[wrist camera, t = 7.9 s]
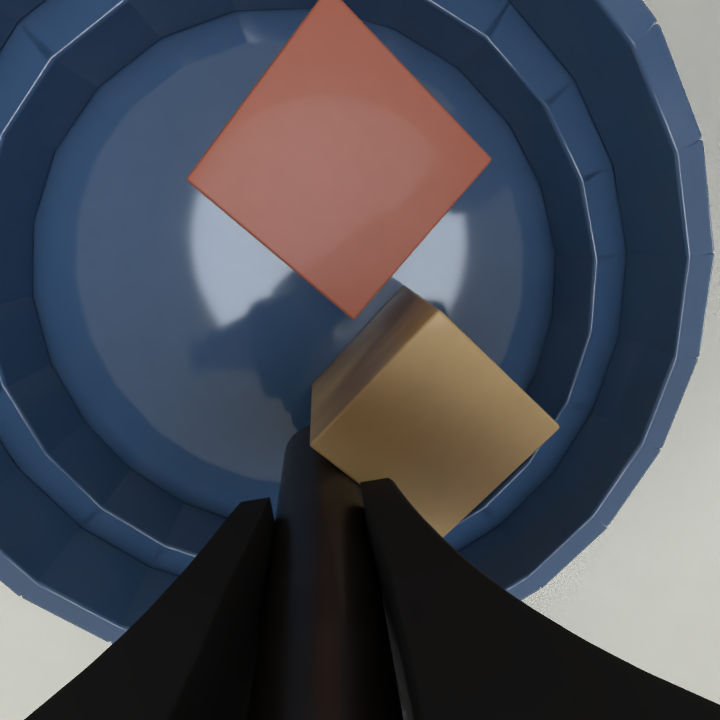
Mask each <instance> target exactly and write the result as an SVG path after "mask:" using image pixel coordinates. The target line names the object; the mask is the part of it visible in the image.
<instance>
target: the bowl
mask: <svg viewBox="0 0 720 720" xmlns="http://www.w3.org/2000/svg"><path fill="white" fill-rule="evenodd" d="M317 1H318V0H0V581H1V582H2V583H4V584H5V585H6V586H7V587H8V588H10V589H11V590H12V591H13V592H14V593H16V594H17V595H18V596H22V598H23V599H25V600H27V601H29V602H31V603H33V604H35V605H37V606H39V607H41V608H43V609H45V610H47V611H49V612H50V613H52V614H54V615H56V616H58V617H60V618H62V619H64V620H66V621H68V622H70V623H72V624H74V625H76V626H78V627H79V628H81V629H83V630H85V631H87V632H89V633H91V634H93V635H95V636H97V637H99V638H101V639H103V640H105V641H107V642H110V641H111V643H112V644H113V643H114V642H115V641H116V640H117V639H119V638H120V637H121V636H122V635H123V634H124V633H125V632H126V631H127V630H128V629H129V628H130V627H131V626H132V625H133V624H134V623H135V622H136V621H137V620H138V619H139V618H140V617H141V616H142V615H143V614H144V613H145V612H146V611H147V610H148V609H149V608H150V607H151V606H152V605H153V604H154V603H155V601H156V600H157V599H158V598H159V597H160V596H161V595H162V594H163V593H164V592H165V591H166V589H167V588H168V587H169V586H170V585H171V584H172V583H173V582H174V581H175V580H176V579H177V577H178V576H179V575H180V574H181V573H182V572H183V571H184V570H185V569H186V568H187V566H188V565H189V564H190V563H191V562H192V561H193V559H194V558H195V557H196V556H197V555H198V553H199V552H200V551H201V550H202V549H203V547H204V546H205V545H206V544H207V543H208V541H209V540H210V539H211V538H212V536H213V535H214V534H215V533H216V531H217V530H218V529H219V528H220V526H221V525H222V524H223V523H224V521H225V520H226V519H227V518H228V516H229V515H230V514H231V513H232V512H233V510H234V509H235V508H236V507H237V505H238V504H239V503H240V502H243V501H249V500H255V499H261V498H267V497H270V501H271V506H272V510H273V515H274V520H275V518H276V511H277V503H278V496H279V489H280V482H281V475H282V468H283V461H284V454H285V449H286V446H287V444H288V442H289V440H290V439H291V437H292V436H293V435H294V434H295V433H296V432H298V431H299V430H301V429H302V428H304V427H306V426H309V425H310V423H311V396H312V384H313V383H314V382H315V380H316V379H317V378H318V377H319V376H320V375H321V374H322V373H323V372H324V371H325V370H326V369H327V368H328V367H329V365H330V364H331V363H332V362H333V361H334V360H335V359H336V358H337V357H338V356H339V355H340V354H341V353H342V351H343V350H344V349H345V348H346V347H347V346H348V345H349V344H350V343H351V342H352V341H353V340H354V339H355V337H356V336H357V335H358V334H359V333H360V332H361V331H362V330H363V329H364V328H365V327H366V326H367V325H368V324H369V322H370V321H371V320H372V319H373V318H374V317H375V316H376V315H377V314H378V313H379V312H380V311H381V310H382V308H383V307H384V306H385V305H386V304H387V303H388V302H389V301H390V300H391V299H392V298H393V297H394V296H395V295H396V293H397V292H398V291H399V290H400V289H401V288H402V287H404V286H406V287H407V288H409V289H410V290H412V291H413V292H415V293H416V294H418V295H419V296H420V297H422V298H423V299H425V300H426V301H428V302H429V303H430V304H432V305H433V306H435V307H436V308H438V309H439V310H441V311H442V312H443V313H444V314H445V315H446V316H447V317H448V318H449V319H450V320H451V321H452V322H453V323H454V324H455V325H456V326H457V327H458V328H459V329H460V330H461V331H462V332H463V333H465V334H466V335H467V336H468V337H469V338H470V339H471V340H472V341H473V342H474V343H475V344H476V345H477V346H478V347H479V348H480V349H481V350H482V351H483V352H484V353H485V354H486V355H487V356H488V357H489V358H490V359H491V360H492V361H493V362H495V363H496V364H497V365H498V366H499V367H500V368H501V369H502V370H503V371H504V372H505V373H506V374H507V375H508V376H509V377H510V378H511V379H512V380H513V381H514V382H515V383H516V384H517V385H518V386H519V387H520V388H521V389H522V390H524V391H525V392H526V393H527V394H528V395H529V396H530V397H531V398H532V399H533V400H534V401H535V402H536V403H537V404H538V405H539V406H540V407H541V408H542V409H543V410H544V411H545V412H546V413H547V414H548V415H549V416H550V417H551V418H552V419H554V420H555V421H556V422H557V423H558V425H559V429H558V430H557V431H556V432H555V433H554V434H553V435H552V436H551V437H550V438H549V439H548V440H546V441H545V442H544V443H543V444H542V445H541V446H540V447H539V448H538V449H537V450H536V451H535V452H534V453H533V454H532V455H530V456H529V457H528V458H527V459H526V460H525V461H524V462H523V463H522V464H521V465H520V466H519V467H518V468H517V469H516V470H515V471H513V472H512V473H511V474H510V475H509V476H508V477H507V478H506V479H505V480H504V481H503V482H502V483H501V484H500V485H499V486H498V487H496V488H495V489H494V490H493V491H492V492H491V493H490V494H489V495H488V496H487V497H486V498H485V499H484V500H483V501H482V502H480V503H479V504H478V505H477V506H476V507H475V508H474V509H473V510H472V511H471V512H470V513H469V514H468V515H467V516H466V517H465V518H463V519H462V520H461V521H460V522H459V523H458V524H457V525H456V526H455V527H454V528H453V529H452V530H451V531H450V532H449V533H448V534H446V535H445V536H444V537H443V538H444V539H445V540H446V541H447V542H448V543H449V544H450V545H451V546H452V547H453V548H454V549H456V550H457V551H458V552H459V553H460V554H461V555H462V556H464V557H465V558H466V559H467V560H468V561H469V562H470V563H472V564H473V565H474V566H475V567H476V568H478V569H479V570H480V571H481V572H483V573H484V574H485V575H486V576H488V577H489V578H490V579H491V580H493V581H494V582H495V583H497V584H498V585H500V586H501V587H502V588H504V589H505V590H506V591H508V592H509V593H510V594H512V595H513V596H515V597H516V598H518V599H519V600H520V601H521V600H523V599H524V598H526V597H528V596H529V595H531V594H533V593H534V592H536V591H538V590H539V589H540V587H541V588H543V587H544V586H545V585H546V584H547V583H548V582H549V581H550V580H552V579H553V578H554V577H555V576H556V575H557V574H558V573H559V572H560V571H561V570H562V569H563V568H564V567H566V566H567V565H568V564H569V563H570V562H571V561H572V560H573V559H574V558H575V557H576V556H577V555H579V554H580V553H581V552H582V551H583V550H584V549H585V548H586V547H587V546H588V545H589V544H590V543H592V542H593V541H594V540H595V539H596V538H597V537H598V536H599V535H600V534H601V533H602V532H603V531H605V530H606V529H607V525H609V524H610V523H611V521H612V520H613V519H614V517H615V516H616V514H617V513H618V511H619V510H620V509H621V507H622V506H623V504H624V503H625V501H626V500H627V499H628V497H629V496H630V494H631V493H632V491H633V490H634V488H635V487H636V486H637V484H638V483H639V481H640V480H641V478H642V477H643V476H644V474H645V473H646V471H647V470H648V468H649V467H650V465H651V464H652V463H653V461H654V460H655V458H656V457H657V455H658V454H659V453H660V448H662V447H663V445H664V442H665V440H666V437H667V435H668V432H669V430H670V427H671V425H672V422H673V420H674V418H675V415H676V413H677V410H678V408H679V405H680V403H681V400H682V398H683V395H684V393H685V390H686V388H687V385H688V383H689V380H690V378H691V375H692V373H693V370H694V368H695V365H696V363H697V358H696V357H699V354H700V348H701V341H702V334H703V328H704V321H705V314H706V307H707V301H708V294H709V287H710V280H711V274H712V267H713V260H714V254H713V253H712V252H713V250H714V246H713V236H712V226H711V216H710V206H709V197H708V187H707V177H706V167H705V157H704V147H703V141H702V140H699V139H700V138H701V133H700V130H699V128H698V125H697V122H696V120H695V117H694V114H693V112H692V109H691V107H690V104H689V101H688V99H687V96H686V93H685V91H684V88H683V86H682V83H681V80H680V78H679V75H678V72H677V70H676V67H675V64H674V62H673V59H672V57H671V54H670V51H669V49H668V46H667V43H666V41H665V38H664V35H663V33H662V30H661V28H660V26H659V25H658V24H656V22H657V21H656V18H655V17H654V15H653V14H652V13H651V11H650V10H649V9H648V7H647V6H646V5H645V3H644V2H643V1H642V0H342V1H343V2H344V3H345V4H346V5H347V6H348V7H349V8H350V9H351V10H352V11H353V12H354V13H355V14H356V15H357V16H358V18H359V19H360V20H361V21H362V22H363V23H364V24H365V25H366V26H367V27H368V28H369V29H370V30H371V31H372V32H373V33H374V34H375V36H376V37H377V38H378V39H379V40H380V41H381V42H382V43H383V44H384V45H385V46H386V47H387V48H388V49H389V50H390V51H391V52H392V54H393V55H394V56H395V57H396V58H397V59H398V60H399V61H400V62H401V63H402V64H403V65H404V66H405V67H406V68H407V69H408V70H409V71H410V73H411V74H412V75H413V76H414V77H415V78H416V79H417V80H418V81H419V82H420V83H421V84H422V85H423V86H424V87H425V88H426V89H427V91H428V92H429V93H430V94H431V95H432V96H433V97H434V98H435V99H436V100H437V101H438V102H439V103H440V104H441V105H442V106H443V107H444V109H445V110H446V111H447V112H448V113H449V114H450V115H451V116H452V117H453V118H454V119H455V120H456V121H457V122H458V123H459V124H460V125H461V126H462V128H463V129H464V130H465V131H466V132H467V133H468V134H469V135H470V136H471V137H472V138H473V139H474V140H475V141H476V142H477V143H478V144H479V146H480V147H481V148H482V149H483V150H484V151H485V152H486V153H487V154H488V155H489V156H490V157H491V159H492V160H491V162H490V163H489V164H488V166H487V167H486V168H485V169H484V170H483V171H482V173H481V174H480V175H479V176H478V177H477V178H476V179H475V181H474V182H473V183H472V184H471V185H470V186H469V188H468V189H467V190H466V191H465V192H464V193H463V195H462V196H461V197H460V198H459V199H458V200H457V201H456V203H455V204H454V205H453V206H452V207H451V208H450V210H449V211H448V212H447V213H446V214H445V215H444V216H443V218H442V219H441V220H440V221H439V222H438V223H437V225H436V226H435V227H434V228H433V229H432V230H431V232H430V233H429V234H428V235H427V236H426V237H425V238H424V240H423V241H422V242H421V243H420V244H419V245H418V247H417V248H416V249H415V250H414V251H413V252H412V253H411V255H410V256H409V257H408V258H407V259H406V260H405V262H404V263H403V264H402V265H401V266H400V267H399V269H398V270H397V271H396V272H395V273H394V274H393V275H392V277H391V278H390V279H389V280H388V281H387V282H386V284H385V285H384V286H383V287H382V288H381V289H380V291H379V292H378V293H377V294H376V295H375V296H374V297H373V299H372V300H371V301H370V302H369V303H368V304H367V306H366V307H365V308H364V309H363V310H362V311H361V312H360V314H359V315H358V316H357V317H356V318H355V319H351V318H350V317H349V316H348V315H346V314H345V313H344V312H343V311H342V310H340V309H339V308H338V307H337V306H336V305H335V304H333V303H332V302H331V301H330V300H329V299H327V298H326V297H325V296H324V295H323V294H321V293H320V292H319V291H318V290H317V289H315V288H314V287H313V286H312V285H311V284H309V283H308V282H307V281H306V280H305V279H303V278H302V277H301V276H300V275H299V274H298V273H296V272H295V271H294V270H293V269H292V268H290V267H289V266H288V265H287V264H286V263H284V262H283V261H282V260H281V259H280V258H278V257H277V256H276V255H275V254H274V253H272V252H271V251H270V250H269V249H268V248H266V247H265V246H264V245H263V244H262V243H261V242H259V241H258V240H257V239H256V238H255V237H253V236H252V235H251V234H250V233H249V232H247V231H246V230H245V229H244V228H243V227H241V226H240V225H239V224H238V223H237V222H235V221H234V220H233V219H232V218H231V217H229V216H228V215H227V214H226V213H225V212H224V211H222V210H221V209H220V208H219V207H218V206H216V205H215V204H214V203H213V202H212V201H210V200H209V199H208V198H207V197H206V196H204V195H203V194H202V193H201V192H200V191H198V190H197V189H196V188H195V187H194V186H192V185H191V184H190V183H189V182H188V181H187V176H188V175H189V174H190V172H191V171H192V170H193V168H194V167H195V166H196V164H197V163H198V162H199V160H200V159H201V158H202V156H203V155H204V154H205V152H206V151H207V149H208V148H209V147H210V145H211V144H212V143H213V141H214V140H215V139H216V137H217V136H218V135H219V133H220V132H221V131H222V129H223V128H224V127H225V125H226V124H227V122H228V121H229V120H230V118H231V117H232V116H233V114H234V113H235V112H236V110H237V109H238V108H239V106H240V105H241V104H242V102H243V101H244V100H245V98H246V97H247V95H248V94H249V93H250V91H251V90H252V89H253V87H254V86H255V85H256V83H257V82H258V81H259V79H260V78H261V77H262V75H263V74H264V73H265V71H266V70H267V68H268V67H269V66H270V64H271V63H272V62H273V60H274V59H275V58H276V56H277V55H278V54H279V52H280V51H281V50H282V48H283V47H284V46H285V44H286V43H287V42H288V40H289V39H290V37H291V36H292V35H293V33H294V32H295V31H296V29H297V28H298V27H299V25H300V24H301V23H302V21H303V20H304V19H305V17H306V16H307V15H308V13H309V12H310V10H311V9H312V8H313V6H314V5H315V4H316V2H317Z"/></svg>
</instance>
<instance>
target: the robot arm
mask: <svg viewBox="0 0 720 720" xmlns="http://www.w3.org/2000/svg"><path fill="white" fill-rule="evenodd" d="M360 485H361V492H362V498H363V505H364V511H365V518H366V524H367V530H368V536H369V541H370V545H371V549H372V553H373V556H374V560H375V564H376V569H377V573H378V577H379V582H380V587H381V593H382V599H383V604H384V610H385V616H386V622H387V627H388V633H389V639H390V645H391V650H392V656H393V662H394V667H395V671H396V675H397V679H398V683H399V687H400V690H401V694H402V698H403V702H404V706H405V710H406V714H407V718H408V720H720V705H719V704H717V703H714V702H712V701H710V700H708V699H705V698H703V697H701V696H699V695H696V694H694V693H692V692H690V691H688V690H685V689H683V688H681V687H679V686H676V685H674V684H672V683H670V682H667V681H665V680H663V679H661V678H659V677H656V676H654V675H652V674H650V673H647V672H645V671H643V670H641V669H639V668H637V667H635V666H633V665H631V664H629V663H628V662H626V661H624V660H622V659H620V658H618V657H616V656H614V655H612V654H610V653H608V652H606V651H604V650H603V649H601V648H599V647H597V646H595V645H593V644H591V643H589V642H588V641H586V640H584V639H582V638H580V637H579V636H577V635H575V634H573V633H572V632H570V631H568V630H567V629H565V628H564V627H562V626H560V625H559V624H557V623H555V622H554V621H552V620H550V619H549V618H547V617H545V616H544V615H542V614H541V613H539V612H537V611H536V610H534V609H532V608H531V607H529V606H528V605H526V604H525V603H523V602H522V601H520V600H519V599H518V598H516V597H515V596H513V595H512V594H510V593H509V592H508V591H506V590H505V589H504V588H502V587H501V586H500V585H498V584H497V583H495V582H494V581H493V580H491V579H490V578H489V577H488V576H486V575H485V574H484V573H483V572H481V571H480V570H479V569H478V568H476V567H475V566H474V565H473V564H472V563H470V562H469V561H468V560H467V559H466V558H465V557H464V556H462V555H461V554H460V553H459V552H458V551H457V550H456V549H454V548H453V547H452V546H451V545H450V544H449V543H448V542H447V541H446V540H445V539H444V538H443V537H442V536H441V535H440V534H439V533H438V532H437V531H436V530H435V529H434V528H433V527H432V526H431V525H430V524H429V523H428V522H427V521H426V520H425V519H424V518H423V517H422V516H421V515H420V514H419V512H418V511H417V510H416V509H415V508H414V507H413V506H412V504H411V503H410V502H409V501H408V500H407V498H406V497H405V496H404V495H403V493H402V492H401V491H400V489H399V488H398V487H397V485H396V484H395V482H394V481H393V480H391V479H390V478H383V479H377V480H371V481H364V482H360ZM274 526H275V520H274V515H273V510H272V506H271V501H270V497H267V498H261V499H255V500H249V501H243V502H240V503H239V504H238V505H237V507H236V508H235V509H234V510H233V512H232V513H231V514H230V515H229V516H228V518H227V519H226V520H225V521H224V523H223V524H222V525H221V526H220V528H219V529H218V530H217V531H216V533H215V534H214V535H213V536H212V538H211V539H210V540H209V541H208V543H207V544H206V545H205V546H204V547H203V549H202V550H201V551H200V552H199V553H198V555H197V556H196V557H195V558H194V559H193V561H192V562H191V563H190V564H189V565H188V566H187V568H186V569H185V570H184V571H183V572H182V573H181V574H180V575H179V576H178V577H177V579H176V580H175V581H174V582H173V583H172V584H171V585H170V586H169V587H168V588H167V589H166V591H165V592H164V593H163V594H162V595H161V596H160V597H159V598H158V599H157V600H156V601H155V603H154V604H153V605H152V606H151V607H150V608H149V609H148V610H147V611H146V612H145V613H144V614H143V615H142V616H141V617H140V618H139V619H138V620H137V621H136V622H135V623H134V624H133V625H132V626H131V627H130V628H129V629H128V630H127V631H126V632H125V633H124V634H123V635H122V636H121V637H120V638H119V639H117V640H116V641H115V642H114V643H113V644H112V645H111V646H110V647H109V648H108V649H107V650H106V651H105V652H103V653H102V654H101V655H100V656H99V657H98V658H97V659H96V660H95V661H94V662H93V663H91V664H90V665H89V666H88V667H87V668H86V669H85V670H83V671H82V672H81V673H80V674H79V675H77V676H76V677H75V678H74V679H73V680H71V681H70V682H69V683H68V684H67V685H65V686H64V687H63V688H62V689H61V690H59V691H58V692H57V693H56V694H55V695H53V696H52V697H51V698H50V699H49V700H47V701H46V702H45V703H44V704H42V705H41V706H40V707H39V708H38V709H36V710H35V711H34V712H33V713H32V714H30V715H29V716H28V717H27V718H26V719H24V720H247V715H248V708H249V701H250V694H251V687H252V680H253V673H254V666H255V659H256V652H257V645H258V638H259V631H260V623H261V616H262V609H263V602H264V595H265V588H266V581H267V574H268V567H269V561H270V554H271V547H272V540H273V533H274Z"/></svg>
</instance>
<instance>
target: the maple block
mask: <svg viewBox="0 0 720 720" xmlns="http://www.w3.org/2000/svg"><path fill="white" fill-rule="evenodd" d="M558 429H559V425H558V423H557V422H556V421H555V420H554V419H552V418H551V417H550V416H549V415H548V414H547V413H546V412H545V411H544V410H543V409H542V408H541V407H540V406H539V405H538V404H537V403H536V402H535V401H534V400H533V399H532V398H531V397H530V396H529V395H528V394H527V393H526V392H525V391H524V390H522V389H521V388H520V387H519V386H518V385H517V384H516V383H515V382H514V381H513V380H512V379H511V378H510V377H509V376H508V375H507V374H506V373H505V372H504V371H503V370H502V369H501V368H500V367H499V366H498V365H497V364H496V363H495V362H493V361H492V360H491V359H490V358H489V357H488V356H487V355H486V354H485V353H484V352H483V351H482V350H481V349H480V348H479V347H478V346H477V345H476V344H475V343H474V342H473V341H472V340H471V339H470V338H469V337H468V336H467V335H466V334H465V333H463V332H462V331H461V330H460V329H459V328H458V327H457V326H456V325H455V324H454V323H453V322H452V321H451V320H450V319H449V318H448V317H447V316H446V315H445V314H444V313H443V312H442V311H441V310H439V309H438V308H436V307H435V306H433V305H432V304H430V303H429V302H428V301H426V300H425V299H423V298H422V297H420V296H419V295H418V294H416V293H415V292H413V291H412V290H410V289H409V288H407V287H406V286H404V287H402V288H401V289H400V290H399V291H398V292H397V293H396V295H395V296H394V297H393V298H392V299H391V300H390V301H389V302H388V303H387V304H386V305H385V306H384V307H383V308H382V310H381V311H380V312H379V313H378V314H377V315H376V316H375V317H374V318H373V319H372V320H371V321H370V322H369V324H368V325H367V326H366V327H365V328H364V329H363V330H362V331H361V332H360V333H359V334H358V335H357V336H356V337H355V339H354V340H353V341H352V342H351V343H350V344H349V345H348V346H347V347H346V348H345V349H344V350H343V351H342V353H341V354H340V355H339V356H338V357H337V358H336V359H335V360H334V361H333V362H332V363H331V364H330V365H329V367H328V368H327V369H326V370H325V371H324V372H323V373H322V374H321V375H320V376H319V377H318V378H317V379H316V380H315V382H314V383H313V384H312V396H311V423H310V446H311V447H312V448H313V449H314V450H316V451H317V452H318V453H320V454H321V455H322V456H323V457H325V458H326V459H327V460H329V461H330V462H331V463H332V464H334V465H335V466H336V467H338V468H339V469H340V470H341V471H343V472H344V473H345V474H347V475H348V476H349V477H350V478H352V479H353V480H354V481H356V482H357V483H358V484H359V485H360V482H364V481H371V480H377V479H383V478H390V479H391V480H393V481H394V482H395V484H396V485H397V487H398V488H399V489H400V491H401V492H402V493H403V495H404V496H405V497H406V498H407V500H408V501H409V502H410V503H411V504H412V506H413V507H414V508H415V509H416V510H417V511H418V512H419V514H420V515H421V516H422V517H423V518H424V519H425V520H426V521H427V522H428V523H429V524H430V525H431V526H432V527H433V528H434V529H435V530H436V531H437V532H438V533H439V534H440V535H441V536H442V537H444V536H445V535H446V534H448V533H449V532H450V531H451V530H452V529H453V528H454V527H455V526H456V525H457V524H458V523H459V522H460V521H461V520H462V519H463V518H465V517H466V516H467V515H468V514H469V513H470V512H471V511H472V510H473V509H474V508H475V507H476V506H477V505H478V504H479V503H480V502H482V501H483V500H484V499H485V498H486V497H487V496H488V495H489V494H490V493H491V492H492V491H493V490H494V489H495V488H496V487H498V486H499V485H500V484H501V483H502V482H503V481H504V480H505V479H506V478H507V477H508V476H509V475H510V474H511V473H512V472H513V471H515V470H516V469H517V468H518V467H519V466H520V465H521V464H522V463H523V462H524V461H525V460H526V459H527V458H528V457H529V456H530V455H532V454H533V453H534V452H535V451H536V450H537V449H538V448H539V447H540V446H541V445H542V444H543V443H544V442H545V441H546V440H548V439H549V438H550V437H551V436H552V435H553V434H554V433H555V432H556V431H557V430H558Z"/></svg>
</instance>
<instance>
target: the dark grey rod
mask: <svg viewBox="0 0 720 720" xmlns="http://www.w3.org/2000/svg"><path fill="white" fill-rule="evenodd" d="M247 720H404V719H403V713H402V708H401V702H400V696H399V690H398V685H397V679H396V673H395V668H394V662H393V656H392V650H391V645H390V639H389V633H388V627H387V622H386V616H385V610H384V604H383V599H382V593H381V587H380V582H379V577H378V573H377V569H376V564H375V560H374V556H373V553H372V549H371V545H370V541H369V536H368V530H367V524H366V518H365V511H364V505H363V498H362V492H361V485H359V484H358V483H357V482H356V481H354V480H353V479H352V478H350V477H349V476H348V475H347V474H345V473H344V472H343V471H341V470H340V469H339V468H338V467H336V466H335V465H334V464H332V463H331V462H330V461H329V460H327V459H326V458H325V457H323V456H322V455H321V454H320V453H318V452H317V451H316V450H314V449H313V448H312V447H311V446H310V425H309V426H306V427H304V428H302V429H301V430H299V431H298V432H296V433H295V434H294V435H293V436H292V437H291V439H290V440H289V442H288V444H287V446H286V449H285V454H284V461H283V468H282V475H281V482H280V489H279V496H278V503H277V511H276V518H275V526H274V533H273V540H272V547H271V554H270V561H269V567H268V574H267V581H266V588H265V595H264V602H263V609H262V616H261V623H260V631H259V638H258V645H257V652H256V659H255V666H254V673H253V680H252V687H251V694H250V701H249V708H248V715H247Z"/></svg>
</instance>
